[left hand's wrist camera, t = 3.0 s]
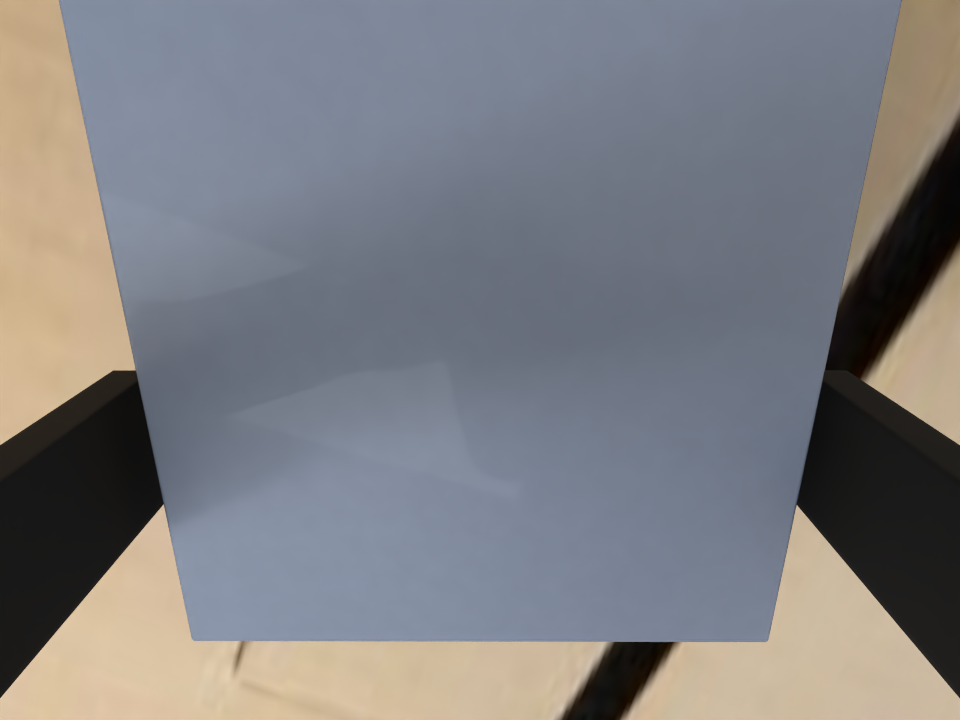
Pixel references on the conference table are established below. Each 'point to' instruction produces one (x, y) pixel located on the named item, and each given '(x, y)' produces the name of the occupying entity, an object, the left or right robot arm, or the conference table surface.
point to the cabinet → (480, 300)
